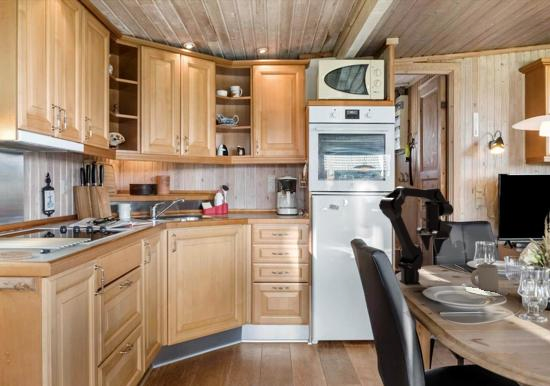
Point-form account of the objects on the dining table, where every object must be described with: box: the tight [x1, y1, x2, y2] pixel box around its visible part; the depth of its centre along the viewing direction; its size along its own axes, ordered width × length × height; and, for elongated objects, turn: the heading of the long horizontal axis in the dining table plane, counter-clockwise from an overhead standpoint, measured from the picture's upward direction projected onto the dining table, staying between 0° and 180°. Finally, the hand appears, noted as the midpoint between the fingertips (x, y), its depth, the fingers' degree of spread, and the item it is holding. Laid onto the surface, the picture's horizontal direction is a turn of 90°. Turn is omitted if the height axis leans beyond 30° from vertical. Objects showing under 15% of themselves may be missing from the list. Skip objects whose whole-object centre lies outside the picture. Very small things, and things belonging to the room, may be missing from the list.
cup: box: [470, 263, 500, 291], centre depth 161 cm, size 7×10×9 cm
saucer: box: [466, 284, 509, 297], centre depth 160 cm, size 15×15×1 cm
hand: (432, 251), depth 182 cm, fingers open, 9 cm apart
